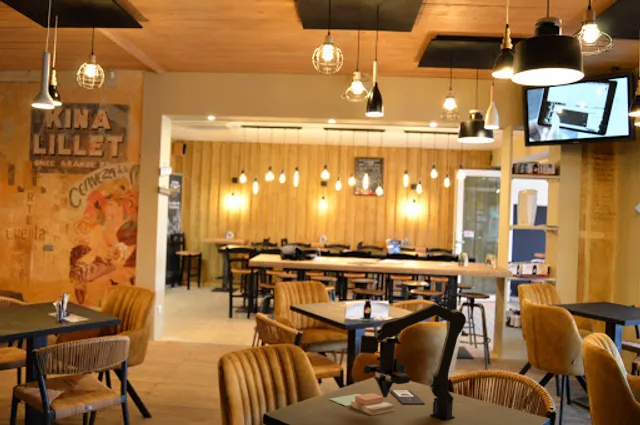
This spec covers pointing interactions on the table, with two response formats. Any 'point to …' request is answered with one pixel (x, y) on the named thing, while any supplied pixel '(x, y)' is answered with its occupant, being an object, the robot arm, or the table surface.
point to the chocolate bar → (407, 397)
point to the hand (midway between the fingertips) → (384, 397)
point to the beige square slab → (373, 407)
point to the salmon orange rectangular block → (369, 399)
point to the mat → (345, 399)
